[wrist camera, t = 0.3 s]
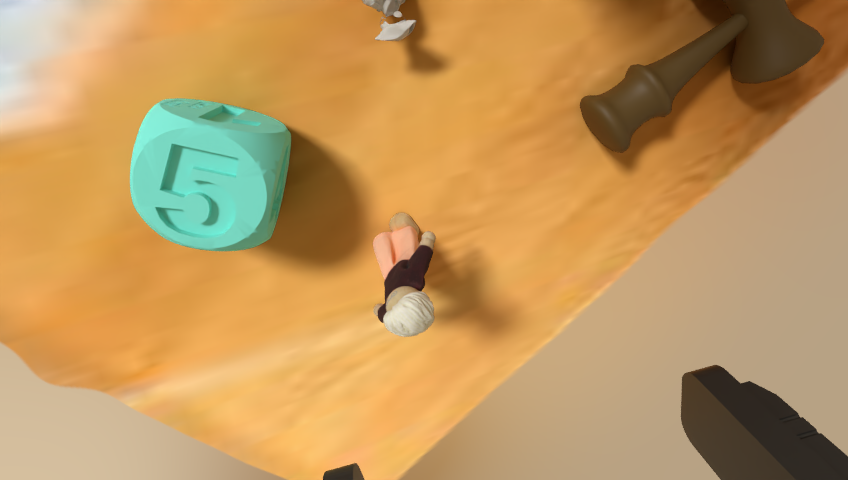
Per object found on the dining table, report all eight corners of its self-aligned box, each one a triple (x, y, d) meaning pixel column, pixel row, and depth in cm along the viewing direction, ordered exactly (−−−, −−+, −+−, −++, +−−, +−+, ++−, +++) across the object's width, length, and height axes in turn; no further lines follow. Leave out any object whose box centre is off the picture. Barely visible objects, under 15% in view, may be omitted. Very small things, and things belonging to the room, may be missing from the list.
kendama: (549, 74, 36) (785, -114, 32) (605, 165, 40) (820, 6, 36) (583, 85, 31) (870, -140, 27) (642, 188, 35) (900, 5, 31)
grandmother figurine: (388, 195, 37) (401, 265, 26) (431, 209, 38) (462, 282, 27) (358, 274, 40) (358, 370, 28) (399, 286, 41) (415, 382, 29)
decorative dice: (296, 120, 34) (279, 142, 27) (280, 218, 37) (261, 261, 30) (181, 92, 32) (130, 107, 25) (174, 197, 35) (126, 238, 28)
